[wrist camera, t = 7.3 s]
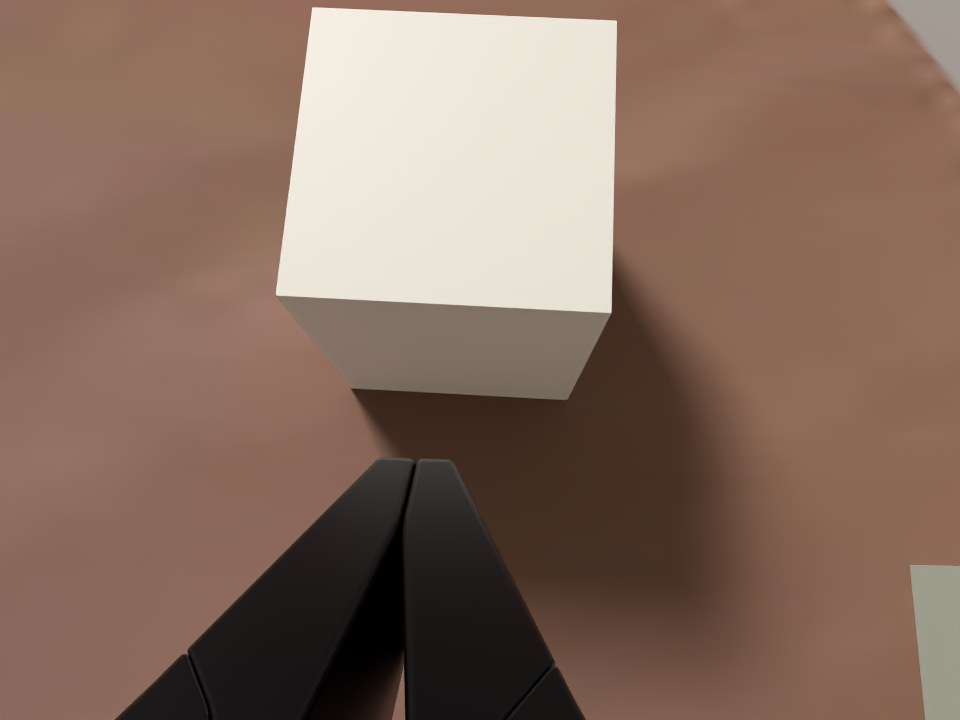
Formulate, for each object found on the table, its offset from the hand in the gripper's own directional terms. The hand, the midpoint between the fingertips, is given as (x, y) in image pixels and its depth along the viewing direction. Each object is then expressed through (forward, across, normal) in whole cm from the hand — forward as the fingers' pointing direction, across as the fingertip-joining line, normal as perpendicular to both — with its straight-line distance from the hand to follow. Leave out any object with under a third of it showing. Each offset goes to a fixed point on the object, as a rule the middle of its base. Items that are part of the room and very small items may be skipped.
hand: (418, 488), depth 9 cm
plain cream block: (+13, 0, +4) cm, 14 cm away
